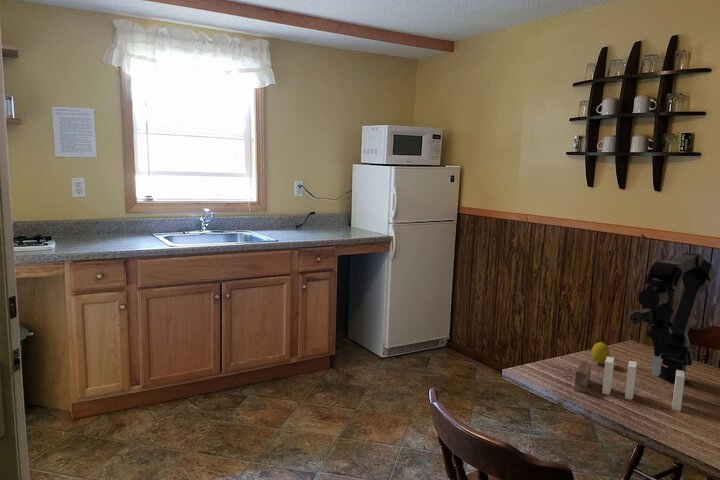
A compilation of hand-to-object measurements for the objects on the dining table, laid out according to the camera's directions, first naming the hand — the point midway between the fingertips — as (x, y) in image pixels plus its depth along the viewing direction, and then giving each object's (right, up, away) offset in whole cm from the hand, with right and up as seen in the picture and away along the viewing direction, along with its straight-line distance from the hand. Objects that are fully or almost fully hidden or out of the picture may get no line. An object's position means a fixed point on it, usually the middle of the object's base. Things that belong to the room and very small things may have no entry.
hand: (657, 353), depth 155 cm
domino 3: (0, -13, -9) cm, 16 cm away
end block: (-21, -11, +4) cm, 24 cm away
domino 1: (-15, -11, +1) cm, 19 cm away
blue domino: (0, -6, +1) cm, 6 cm away
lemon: (-7, -9, +21) cm, 24 cm away
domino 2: (-10, -12, -3) cm, 16 cm away
